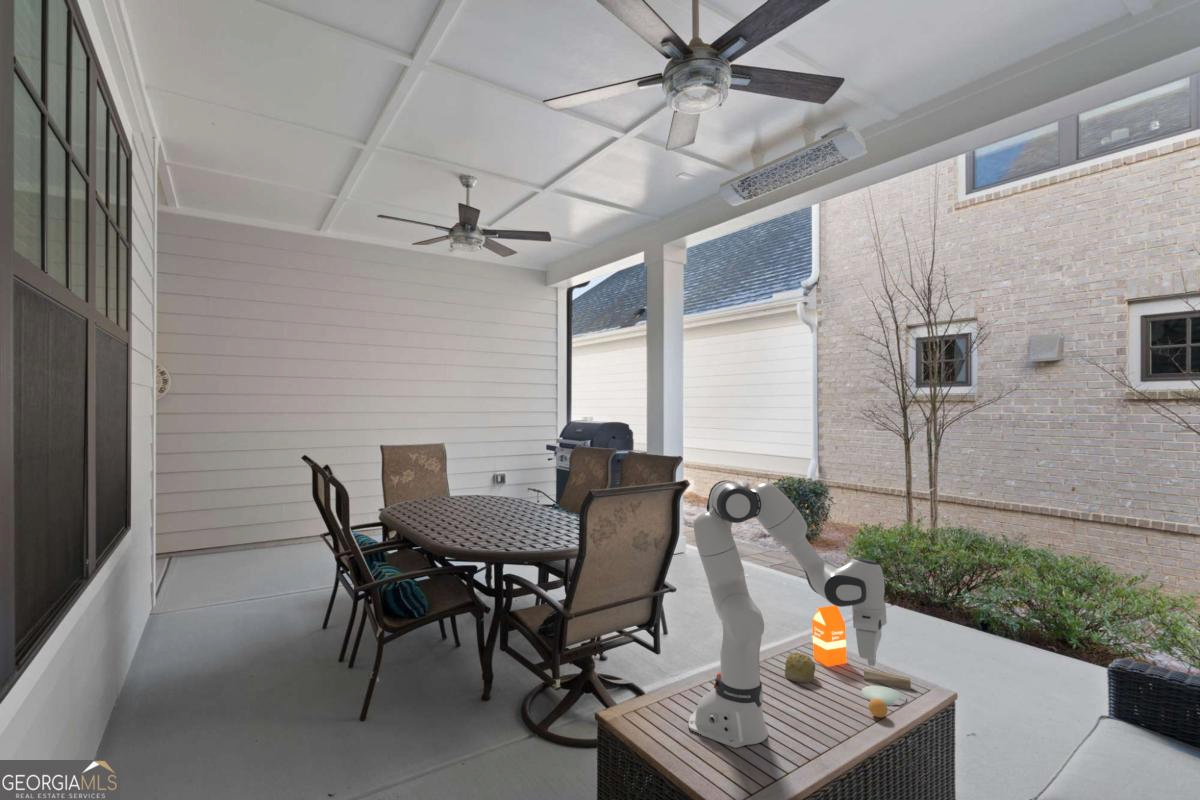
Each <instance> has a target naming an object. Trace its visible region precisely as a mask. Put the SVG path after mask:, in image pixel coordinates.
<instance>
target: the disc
mask: <svg viewBox="0 0 1200 800" xmlns="http://www.w3.org/2000/svg"><path fill="white" fill-rule="evenodd" d="M861 694H862V696H863V697H864V698H865V699H866V700H869V702H870V701H871V700H872V699H880V700H882V701H883V702H884V703H885V704H886V706H887V705H890V707H893V706H892V705H893V702H894V701H895V700H897V699H899V698H900V699H901V698H902V697H903V698H904V697H905V698H906V699H907V697H906V695H905V694H903V693H902V692H901V691H898V690H896V689H894V688H891V687H887V686H883V685H867V686H864V687H863V688H861ZM894 703H895V702H894Z"/></svg>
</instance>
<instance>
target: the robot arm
mask: <svg viewBox="0 0 1200 800" xmlns="http://www.w3.org/2000/svg"><path fill="white" fill-rule="evenodd" d="M754 518H755V519H757V520H758V522H759V523H760V524H761V526H762V527H763V528H764V530H765V531H766V532H767V533H768V534H769V535H770V536H771V537H772V539H774V540H775V541H776V542H777V543H779V544H780V545H781V546H782V547H785V549H787V550H788V551H789V552H790V553H791V554H792V556H793V557H794V558H795V559H796V560H797V562H798V563H799V565H800V566H801V567H802V569H803V570H804V572H805V576H806V580H807V582H808V585H809V587H810V588H811V590H812V591H813V592H815V593H816V594H818V595H820V596H821V597H822V598H824V599H825V600H826V601H828V602H829V603H830V604H832V606H835V605H836V606H837V607H840V608H841V607H851V610H852V620H853V621H852V627H853V629H855V635H856V636H855V637H856V644H857V650H858V651H857V652H858V655H859V657H860V658H861V659H863V660H867V664H868V666H871V667H875V666H876V663H877V651H878V648H879V645H880V642H881V639H882V629H883V626H885V625H887V623H888V621H887V620H888V619H887V606H886V603H885V592H886V591H885V590H886V589H885V579H884V571H883V569H882V567H881V565H880V564H879V562H876V561H874V560H872V559H870V558H866V557H860V556H859V557H858V556H857V557H852V559H851V560H850V561H849V562H847V563H846V564H844V565H843V566H840V567H837V566H835V565H834V564H832V563H831V562H829V561H826V560H824V559H823V558H822V557H821V556H820V555H819V554H818V552H817V551H816V550H815V548H814V546H813V545H812V544H811V543H810V542H809V541H808V538H807V537H806V534H807V532H808V524H807V522H806V520H805V518H804V517H803V515H802V513H801V512H800V510H799V509H798V508H797V507H796V505H795V504H794V503H793V502H792V501H791V499H790V498H789V497H788V496H787V495H786V494H784V493H783V492H782V491H781V490H780V489H779V488H777V487H776V485H774V484H772V483H770V482H763V483H762V482H761V483H759V484H757V485H755V486H754V487H753V488H751V489H750V488H746V487H745V486H743V485H741V484H740V483H737V482H734V481H731V480H721V481H718V482H717V483H715V484H714V485H713V486H712V487H711V488H710V491H709V494H708V500H707V503H706V511H705V512H703V513H701V514H699V515H698V516H697V517H696V518H695V520H694V521H693V532H694V539H695V544H696V547H697V551H698V553H699V557H700V561H701V563H702V566H703V569H704V572H705V576H706V580H707V581H708V586H709V591H710V595H711V599H712V601H713V604H714V609H715V612H716V614H717V616H718V618H719V620H720V621H721V625H722V640H721V641H722V643H721V649H720V671H718V672H717V674H716V678H715V679H714V681H713V689H711V690H710V691H708V692H707V693H705V694H704V695H703V696H701V698H700V700H699V701H698V703H697V707H696V709H695V711H693V712H692V713H691V715H690V717H689V719H688V724H687V726H688V725H689V727H688V729H689V728H690V729H691V730H693V731H695V732H697V733H699V734H698V735H700V734H701V735H700V736H703V737H706V738H709V739H710V740H713V741H715V742H717V743H718V742H719V743H721V744H724V745H726V746H728V747H731V748H734V749H737V748H738V749H739V748H741V747H743V746H749V745H750V746H751V745H756V744H760V743H762V742H764V741H765V740H766V739H767V738H768V735H769V733H768V729H767V725H766V723H765V722H766V721H765V716H764V711H763V706H762V704H763V695H764V694H763V693H764V691H763V686H762V685H763V684H762V681H761V672H760V670H761V669H760V668H761V666H760V653H761V652H760V651H761V644H762V637H763V635H764V631H765V621H764V617H763V614H762V612H761V609H760V608H759V607H758V606H757V605H756V603H755V602H754V600H753V599H752V597H751V596H750V592H749V590H748V585H747V581H746V576H745V569H744V566H743V563H742V560H741V557H740V554H739V551H738V549H737V544H736V542H735V539H734V536H733V532H732V526H733V524H739V523H744V522H746V521H748V520H752V519H754ZM691 723H693V724H691ZM695 732H694V733H695ZM697 733H696V734H697Z"/></svg>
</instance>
